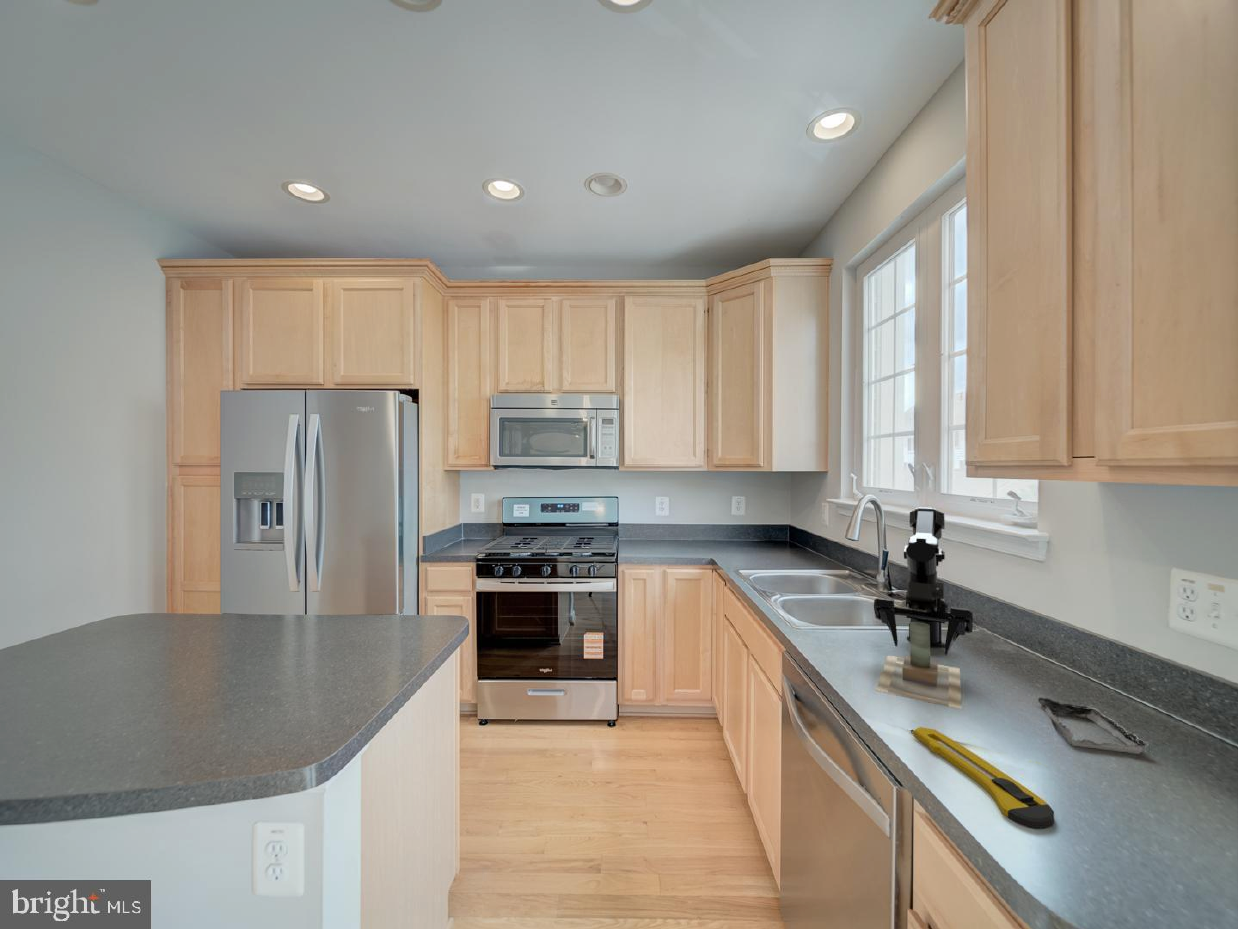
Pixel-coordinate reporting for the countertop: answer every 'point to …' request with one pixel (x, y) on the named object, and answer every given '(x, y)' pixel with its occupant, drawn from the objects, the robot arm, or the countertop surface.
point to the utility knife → (991, 781)
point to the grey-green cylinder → (920, 657)
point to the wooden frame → (942, 694)
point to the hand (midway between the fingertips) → (920, 649)
